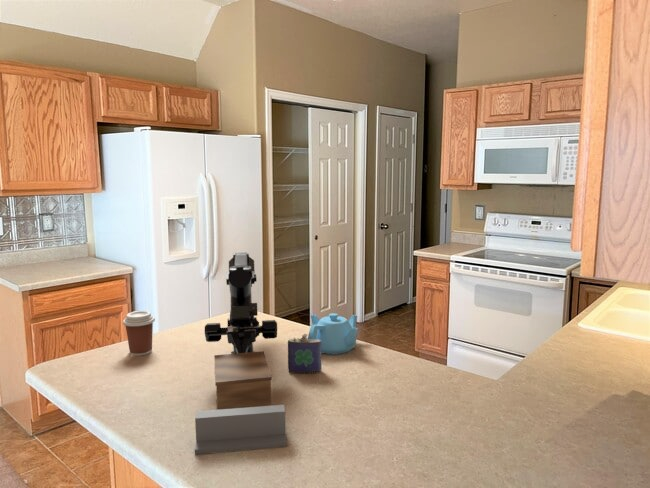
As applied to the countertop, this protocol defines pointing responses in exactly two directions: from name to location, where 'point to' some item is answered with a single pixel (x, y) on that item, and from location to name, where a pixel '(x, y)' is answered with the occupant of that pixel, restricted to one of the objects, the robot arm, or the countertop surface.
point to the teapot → (334, 333)
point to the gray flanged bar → (240, 429)
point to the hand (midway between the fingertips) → (242, 361)
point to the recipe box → (242, 380)
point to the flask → (304, 355)
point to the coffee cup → (139, 332)
